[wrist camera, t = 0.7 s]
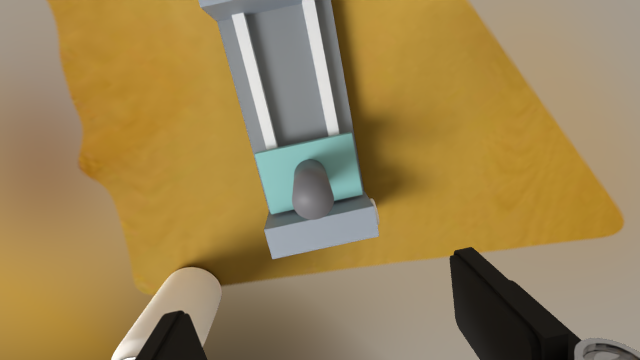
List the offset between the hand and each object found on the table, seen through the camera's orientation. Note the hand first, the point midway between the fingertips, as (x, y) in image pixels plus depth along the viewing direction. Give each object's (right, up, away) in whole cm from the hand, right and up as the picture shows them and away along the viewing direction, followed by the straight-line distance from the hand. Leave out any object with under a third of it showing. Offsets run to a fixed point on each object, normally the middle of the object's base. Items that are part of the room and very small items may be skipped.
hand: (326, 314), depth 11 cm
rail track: (-2, +11, +20) cm, 23 cm away
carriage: (-1, +5, +19) cm, 19 cm away
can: (-15, -8, +24) cm, 30 cm away
